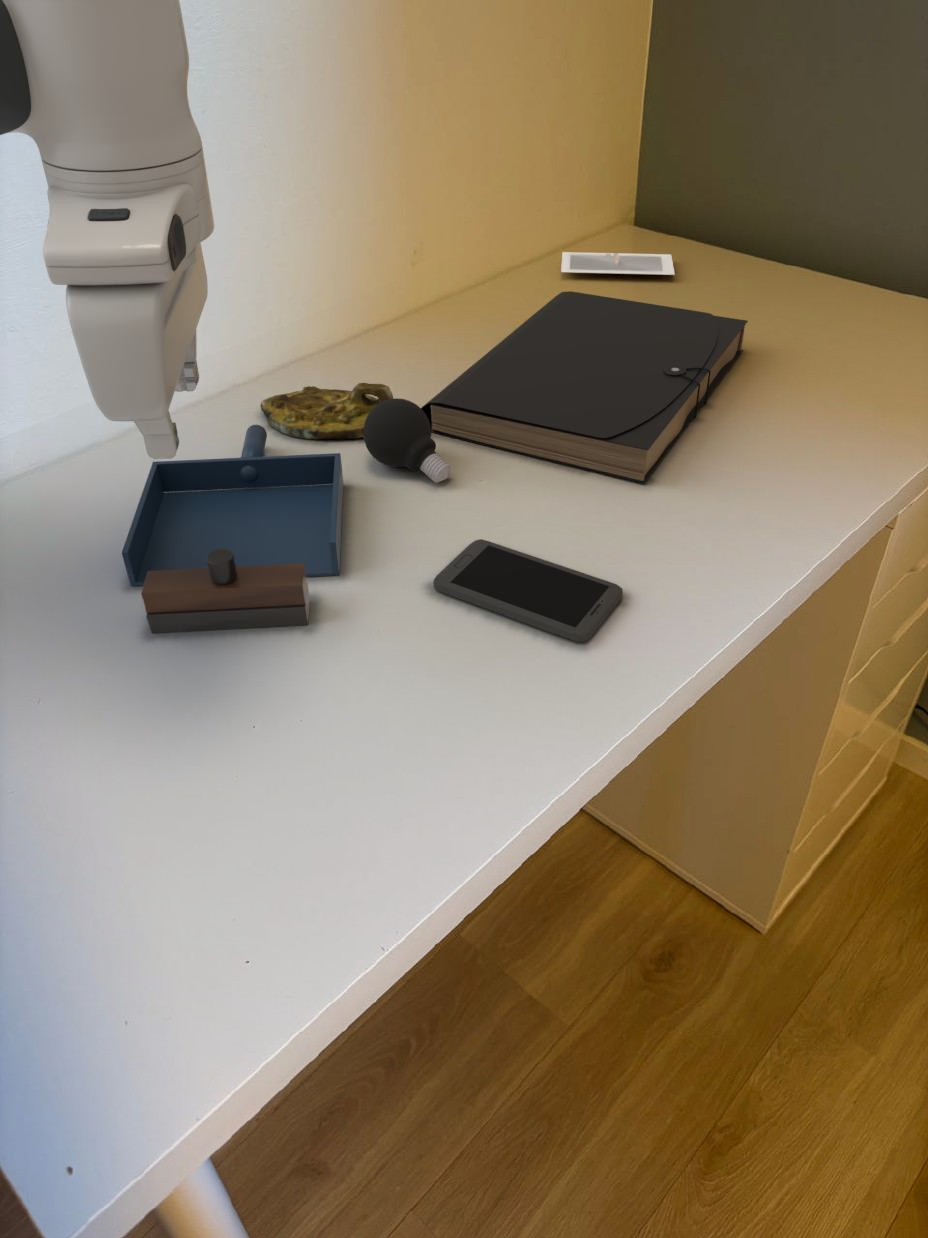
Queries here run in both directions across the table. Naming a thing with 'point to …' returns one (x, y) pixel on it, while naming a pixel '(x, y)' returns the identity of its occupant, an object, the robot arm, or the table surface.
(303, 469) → the dustpan
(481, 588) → the cell phone
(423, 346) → the table surface
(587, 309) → the black leather journal
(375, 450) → the light bulb
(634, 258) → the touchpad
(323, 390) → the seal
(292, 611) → the wiper
